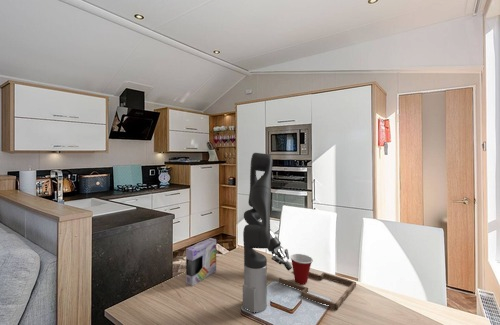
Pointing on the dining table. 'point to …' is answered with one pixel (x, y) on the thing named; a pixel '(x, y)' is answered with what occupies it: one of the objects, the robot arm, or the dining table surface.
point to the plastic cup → (301, 267)
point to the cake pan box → (200, 261)
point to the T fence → (318, 299)
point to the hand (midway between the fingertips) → (290, 269)
